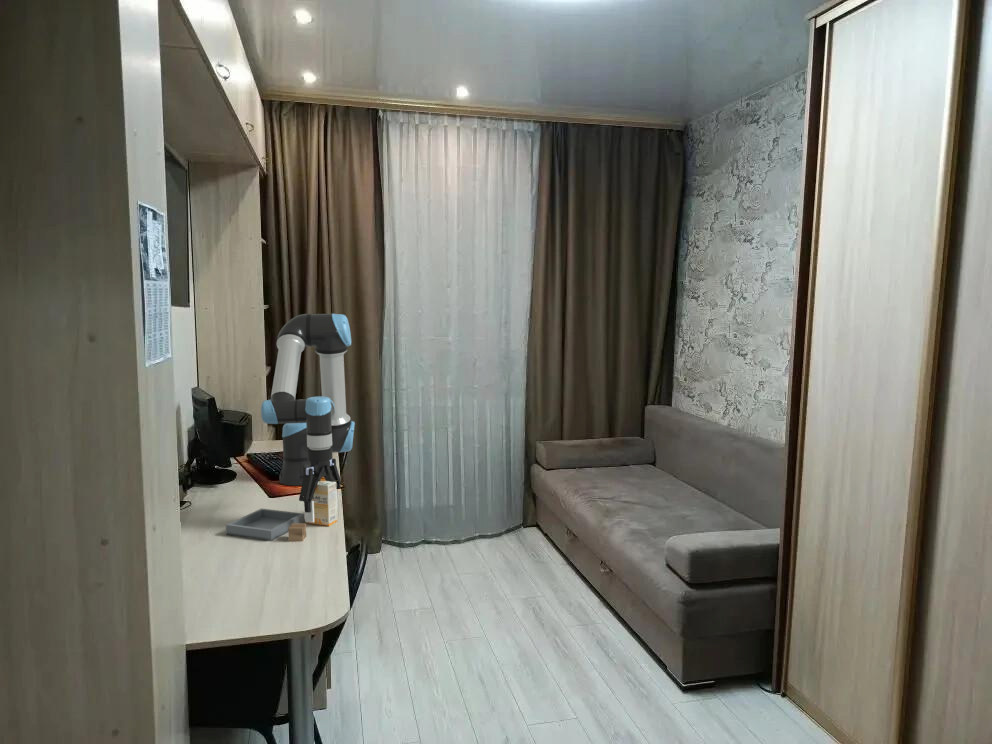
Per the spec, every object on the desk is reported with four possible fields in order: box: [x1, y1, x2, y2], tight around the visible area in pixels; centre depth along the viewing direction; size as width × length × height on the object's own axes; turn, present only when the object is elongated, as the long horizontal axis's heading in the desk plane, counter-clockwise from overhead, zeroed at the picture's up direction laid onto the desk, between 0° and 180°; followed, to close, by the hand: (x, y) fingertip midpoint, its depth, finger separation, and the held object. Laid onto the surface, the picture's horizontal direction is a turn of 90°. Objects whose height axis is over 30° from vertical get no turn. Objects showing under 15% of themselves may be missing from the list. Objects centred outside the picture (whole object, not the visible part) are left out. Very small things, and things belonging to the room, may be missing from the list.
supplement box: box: [306, 479, 338, 527], centre depth 204 cm, size 8×5×13 cm, turn 70°
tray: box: [225, 508, 306, 542], centre depth 199 cm, size 16×16×3 cm
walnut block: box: [287, 522, 307, 542], centre depth 191 cm, size 4×4×4 cm
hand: (321, 515), depth 204 cm, fingers open, 12 cm apart
